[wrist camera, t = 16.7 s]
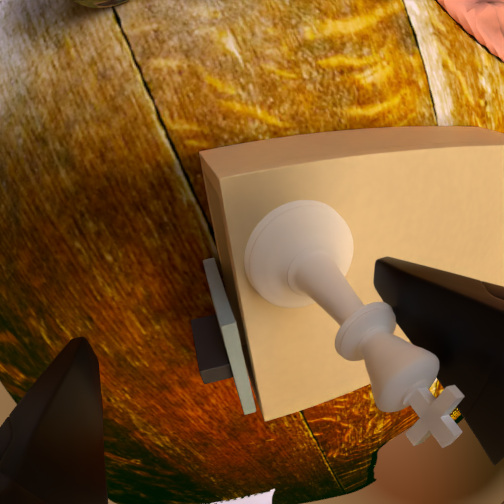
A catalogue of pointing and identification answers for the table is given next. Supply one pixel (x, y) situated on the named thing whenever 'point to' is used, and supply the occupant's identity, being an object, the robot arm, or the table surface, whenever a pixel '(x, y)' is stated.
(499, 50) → the cloth
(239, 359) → the closet door
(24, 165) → the table surface
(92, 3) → the beverage can
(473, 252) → the box
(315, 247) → the chess piece
